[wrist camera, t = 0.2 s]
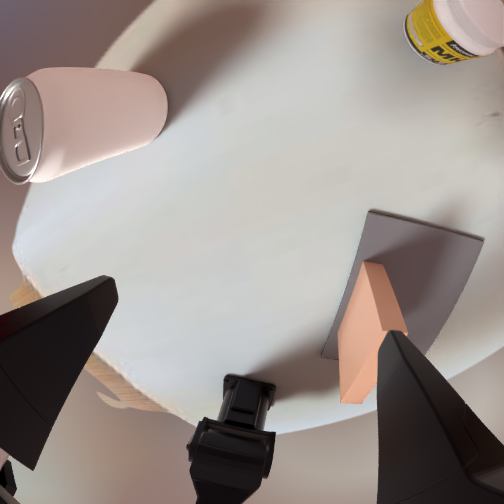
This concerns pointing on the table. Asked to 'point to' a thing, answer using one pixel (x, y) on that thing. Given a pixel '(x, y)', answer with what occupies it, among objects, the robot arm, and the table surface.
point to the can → (75, 120)
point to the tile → (366, 331)
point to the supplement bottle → (455, 29)
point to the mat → (413, 274)
